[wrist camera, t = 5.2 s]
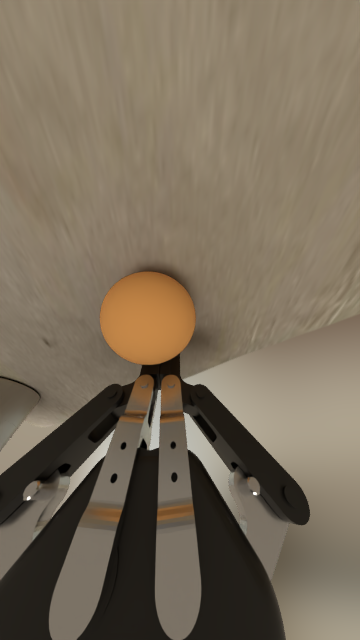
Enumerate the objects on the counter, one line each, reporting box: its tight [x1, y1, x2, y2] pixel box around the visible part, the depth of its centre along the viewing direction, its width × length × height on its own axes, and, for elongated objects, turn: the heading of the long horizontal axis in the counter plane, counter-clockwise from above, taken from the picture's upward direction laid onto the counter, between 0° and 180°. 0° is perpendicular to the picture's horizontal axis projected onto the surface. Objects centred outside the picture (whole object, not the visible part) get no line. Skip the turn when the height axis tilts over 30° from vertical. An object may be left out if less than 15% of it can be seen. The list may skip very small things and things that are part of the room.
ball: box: [100, 272, 196, 365], centre depth 9 cm, size 6×6×6 cm
